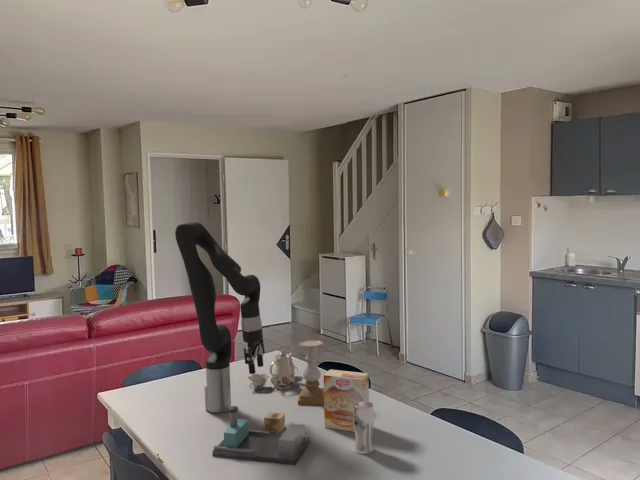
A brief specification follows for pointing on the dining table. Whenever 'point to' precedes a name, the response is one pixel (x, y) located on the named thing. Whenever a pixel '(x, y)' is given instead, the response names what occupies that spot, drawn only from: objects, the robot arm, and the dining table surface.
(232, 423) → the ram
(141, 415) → the dining table surface
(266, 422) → the block
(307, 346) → the candle holder
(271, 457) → the frame
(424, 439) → the dining table surface
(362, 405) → the beer glass
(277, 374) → the chinaware
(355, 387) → the coffeecake box
